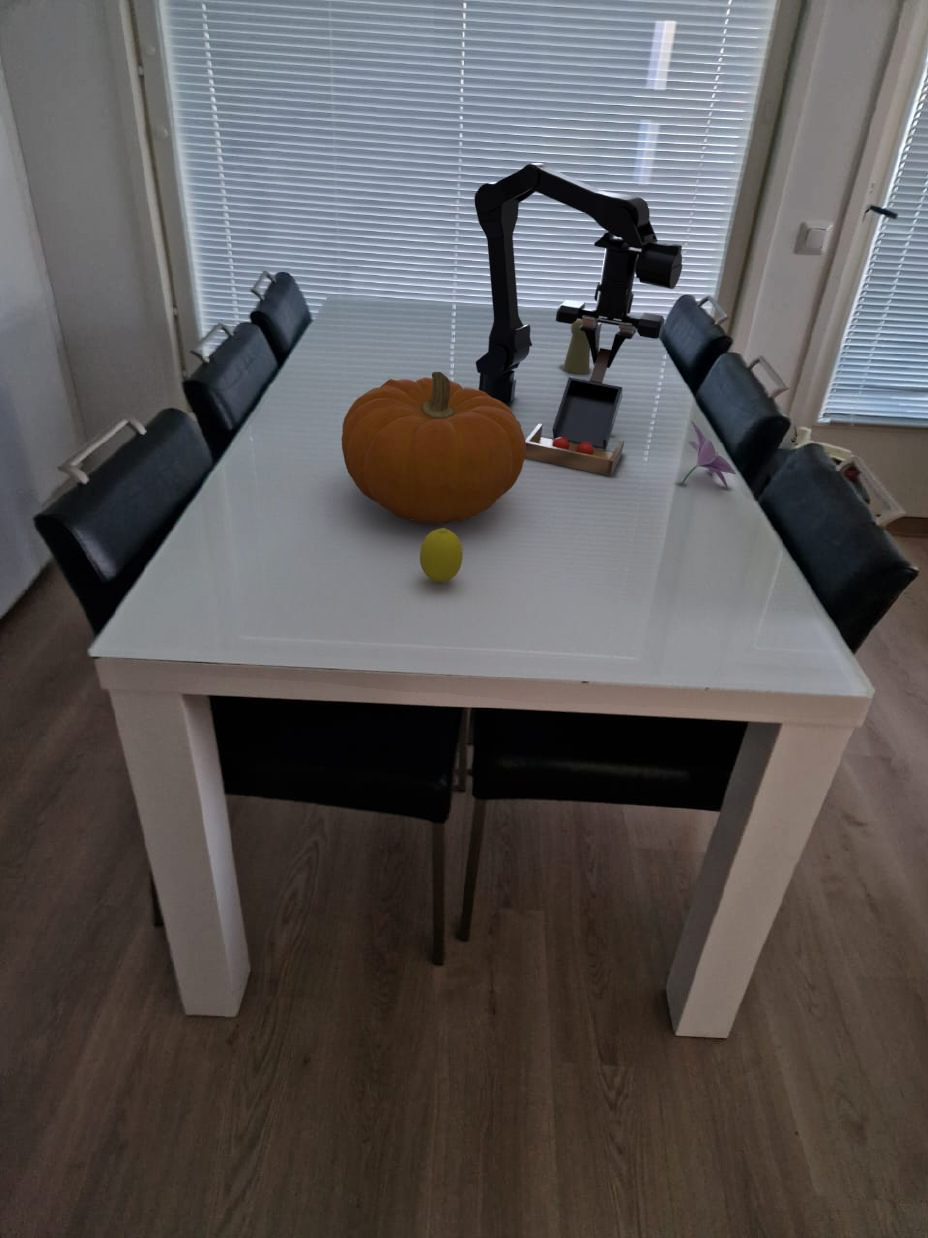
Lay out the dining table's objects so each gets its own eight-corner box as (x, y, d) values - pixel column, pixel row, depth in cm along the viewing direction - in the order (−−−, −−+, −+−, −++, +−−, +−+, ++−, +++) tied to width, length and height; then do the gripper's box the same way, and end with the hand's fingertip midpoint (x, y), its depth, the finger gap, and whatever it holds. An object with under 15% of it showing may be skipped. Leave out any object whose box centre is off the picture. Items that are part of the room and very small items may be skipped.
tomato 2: (578, 437, 145) (579, 445, 148) (574, 452, 144) (574, 460, 147) (595, 440, 144) (595, 448, 147) (590, 456, 143) (591, 463, 146)
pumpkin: (361, 453, 141) (363, 334, 130) (522, 472, 140) (538, 354, 129) (320, 531, 118) (318, 394, 106) (513, 555, 117) (531, 419, 105)
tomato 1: (554, 432, 146) (555, 440, 149) (549, 446, 145) (550, 455, 148) (571, 435, 145) (571, 444, 148) (566, 450, 144) (567, 458, 147)
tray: (521, 456, 145) (523, 441, 144) (536, 437, 153) (538, 423, 152) (610, 476, 142) (613, 461, 140) (621, 455, 150) (624, 441, 148)
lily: (725, 510, 137) (759, 459, 134) (665, 474, 135) (699, 422, 133) (707, 500, 148) (739, 453, 146) (652, 466, 147) (683, 418, 144)
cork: (588, 375, 187) (596, 325, 180) (561, 371, 187) (568, 321, 181) (590, 367, 192) (598, 318, 185) (564, 363, 192) (571, 315, 186)
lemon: (417, 570, 111) (420, 517, 107) (458, 571, 112) (463, 519, 107) (419, 593, 106) (422, 538, 102) (461, 594, 107) (466, 540, 103)
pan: (580, 355, 157) (579, 343, 154) (632, 364, 155) (632, 353, 151) (553, 438, 153) (552, 428, 150) (606, 449, 151) (606, 440, 147)
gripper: (676, 276, 148) (658, 363, 157) (576, 261, 153) (563, 345, 162) (668, 289, 140) (649, 380, 149) (561, 272, 144) (549, 361, 153)
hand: (602, 366), depth 153 cm, fingers closed on pan, 2 cm apart
